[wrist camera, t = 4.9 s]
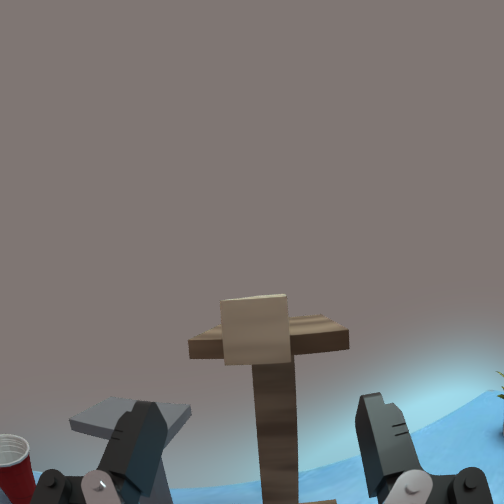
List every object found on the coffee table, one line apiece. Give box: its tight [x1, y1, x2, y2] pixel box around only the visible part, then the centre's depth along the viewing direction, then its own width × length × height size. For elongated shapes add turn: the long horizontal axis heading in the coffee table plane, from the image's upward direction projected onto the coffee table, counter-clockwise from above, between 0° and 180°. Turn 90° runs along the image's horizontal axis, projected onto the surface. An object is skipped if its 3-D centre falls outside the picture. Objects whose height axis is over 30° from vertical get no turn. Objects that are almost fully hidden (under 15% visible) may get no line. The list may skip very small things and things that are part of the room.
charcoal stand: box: [69, 397, 192, 504], centre depth 28 cm, size 12×12×22 cm
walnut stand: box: [188, 314, 349, 504], centre depth 27 cm, size 16×16×32 cm
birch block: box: [220, 294, 291, 365], centre depth 25 cm, size 24×3×3 cm, turn 174°
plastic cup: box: [0, 434, 36, 504], centre depth 23 cm, size 11×11×12 cm
